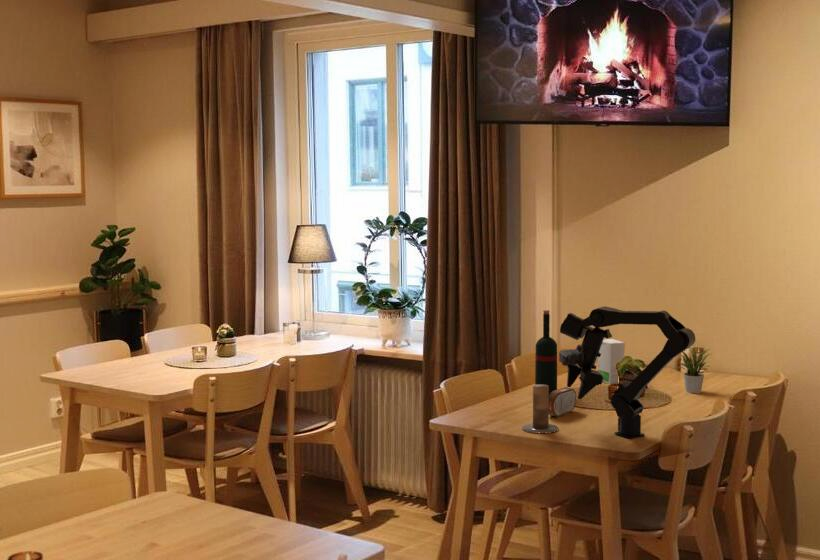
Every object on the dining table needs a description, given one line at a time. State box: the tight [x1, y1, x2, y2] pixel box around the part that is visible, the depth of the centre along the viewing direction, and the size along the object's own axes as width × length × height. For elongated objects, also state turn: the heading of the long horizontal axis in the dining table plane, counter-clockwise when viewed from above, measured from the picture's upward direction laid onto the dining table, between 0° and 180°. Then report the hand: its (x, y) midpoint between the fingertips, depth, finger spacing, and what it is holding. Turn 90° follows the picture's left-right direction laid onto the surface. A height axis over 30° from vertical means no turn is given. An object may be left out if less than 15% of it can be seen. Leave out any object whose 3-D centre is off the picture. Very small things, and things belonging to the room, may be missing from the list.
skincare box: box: [597, 338, 626, 385], centre depth 386 cm, size 8×7×16 cm
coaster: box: [521, 423, 559, 434], centre depth 317 cm, size 11×11×1 cm
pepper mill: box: [532, 384, 550, 430], centre depth 316 cm, size 5×5×13 cm
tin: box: [549, 386, 577, 418], centre depth 336 cm, size 15×3×8 cm, turn 141°
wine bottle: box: [534, 309, 558, 395], centre depth 365 cm, size 8×10×30 cm
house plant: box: [678, 348, 714, 394], centre depth 367 cm, size 14×14×16 cm
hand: (573, 392), depth 316 cm, fingers open, 9 cm apart
